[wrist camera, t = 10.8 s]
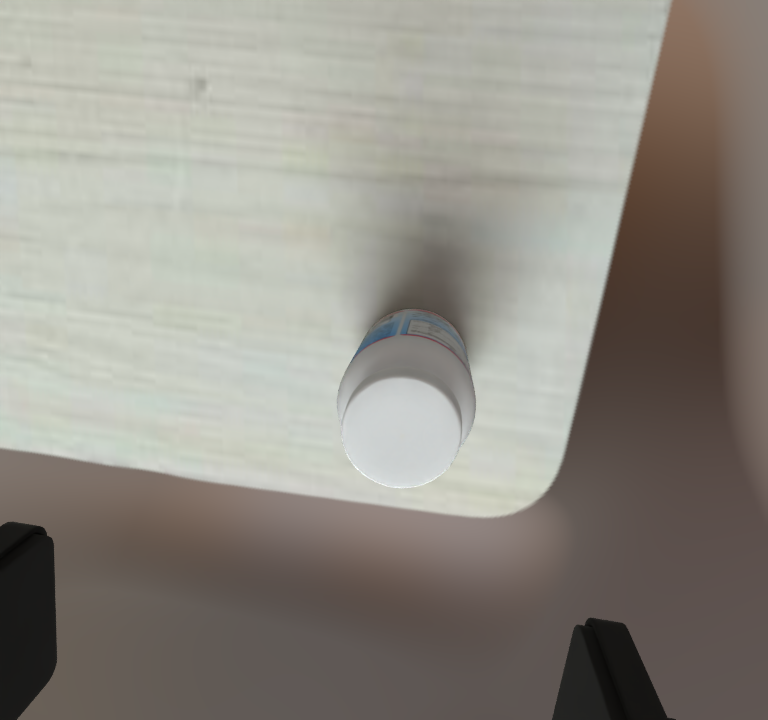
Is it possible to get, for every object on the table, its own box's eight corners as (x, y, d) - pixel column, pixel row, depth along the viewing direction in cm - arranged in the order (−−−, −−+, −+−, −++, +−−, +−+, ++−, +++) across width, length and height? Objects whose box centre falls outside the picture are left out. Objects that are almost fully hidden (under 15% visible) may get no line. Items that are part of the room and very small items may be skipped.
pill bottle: (374, 418, 34) (340, 517, 23) (350, 317, 33) (303, 372, 22) (477, 401, 33) (493, 495, 22) (458, 296, 32) (464, 342, 21)
